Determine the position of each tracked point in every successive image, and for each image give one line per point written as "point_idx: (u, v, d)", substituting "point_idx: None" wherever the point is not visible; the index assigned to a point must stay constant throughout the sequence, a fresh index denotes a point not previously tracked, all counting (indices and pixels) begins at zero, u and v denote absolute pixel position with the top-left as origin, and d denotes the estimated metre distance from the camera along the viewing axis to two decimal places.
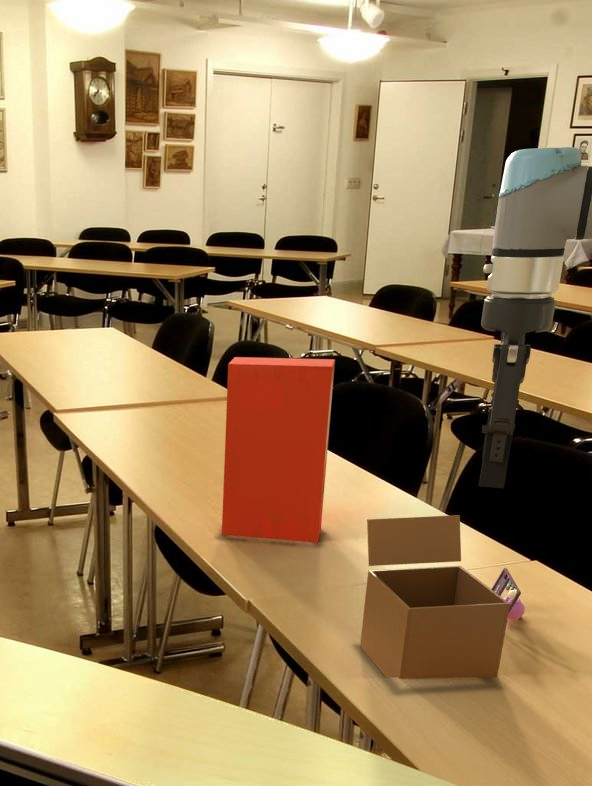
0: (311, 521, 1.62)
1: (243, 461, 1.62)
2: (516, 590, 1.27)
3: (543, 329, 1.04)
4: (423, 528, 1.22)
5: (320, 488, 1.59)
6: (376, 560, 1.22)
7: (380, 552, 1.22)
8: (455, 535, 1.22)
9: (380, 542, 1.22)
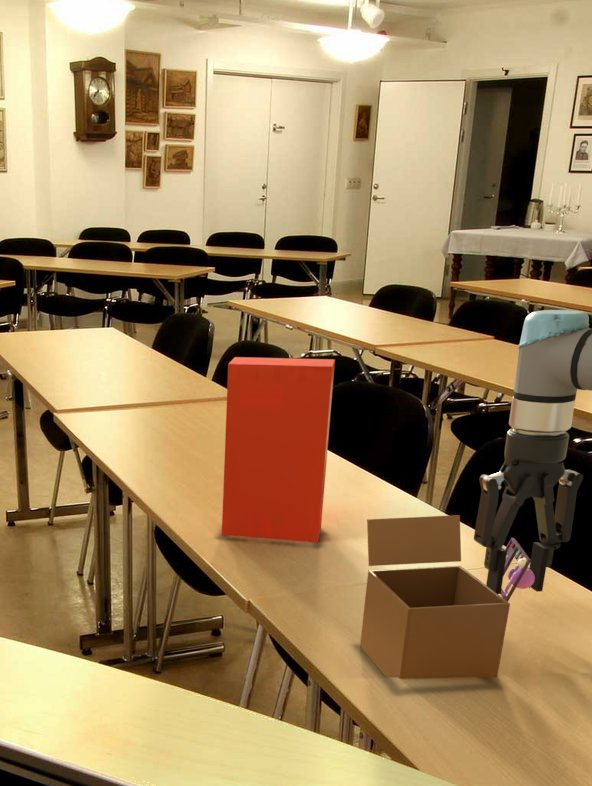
0: (311, 521, 1.62)
1: (243, 461, 1.62)
2: (525, 558, 1.25)
3: (530, 461, 1.21)
4: (423, 528, 1.22)
5: (320, 488, 1.59)
6: (376, 560, 1.22)
7: (380, 552, 1.22)
8: (455, 535, 1.22)
9: (380, 542, 1.22)
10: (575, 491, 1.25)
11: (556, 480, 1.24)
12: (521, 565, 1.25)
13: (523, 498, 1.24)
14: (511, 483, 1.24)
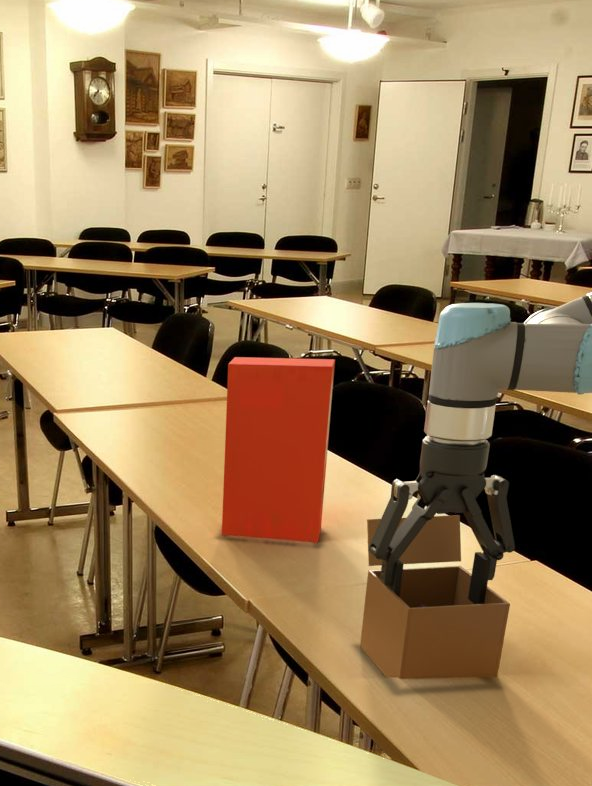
0: (311, 521, 1.62)
1: (243, 461, 1.62)
2: None
3: (445, 473, 1.08)
4: (423, 528, 1.22)
5: (320, 488, 1.59)
6: (376, 560, 1.22)
7: None
8: (455, 535, 1.22)
9: None
10: (504, 499, 1.11)
11: (476, 494, 1.11)
12: None
13: (434, 512, 1.11)
14: (426, 497, 1.11)
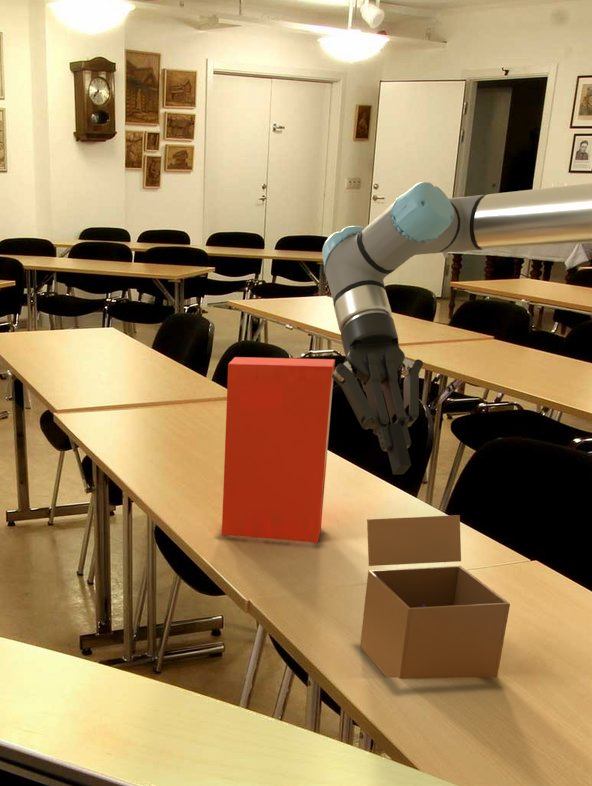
0: (311, 521, 1.62)
1: (243, 461, 1.62)
2: None
3: (363, 335, 1.29)
4: (423, 528, 1.22)
5: (320, 488, 1.59)
6: (376, 560, 1.22)
7: (380, 552, 1.22)
8: (455, 535, 1.22)
9: (380, 542, 1.22)
10: (417, 373, 1.29)
11: (399, 360, 1.29)
12: None
13: (377, 372, 1.28)
14: (356, 364, 1.29)
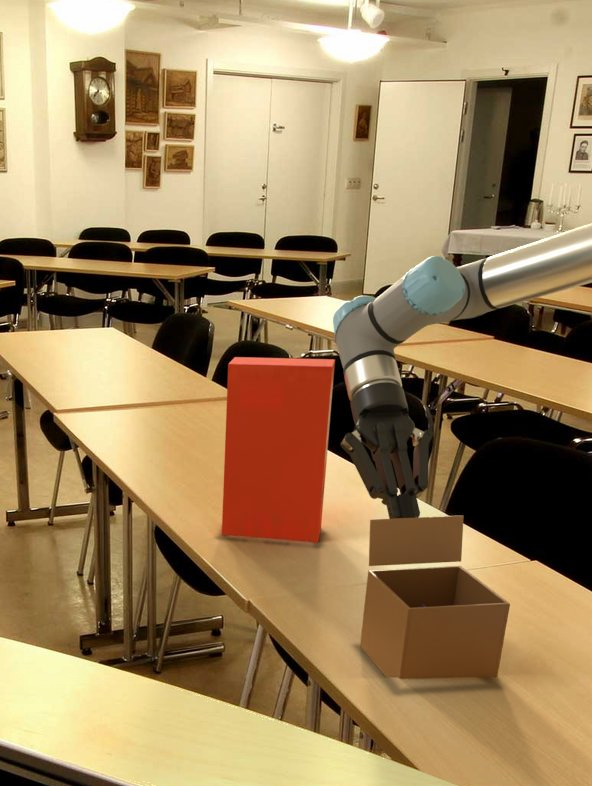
0: (311, 521, 1.62)
1: (243, 461, 1.62)
2: None
3: (372, 404, 1.28)
4: (426, 529, 1.21)
5: (320, 488, 1.59)
6: (376, 560, 1.22)
7: (381, 552, 1.22)
8: (457, 535, 1.22)
9: (382, 542, 1.21)
10: (427, 444, 1.28)
11: (409, 430, 1.29)
12: None
13: (386, 442, 1.27)
14: (365, 433, 1.29)
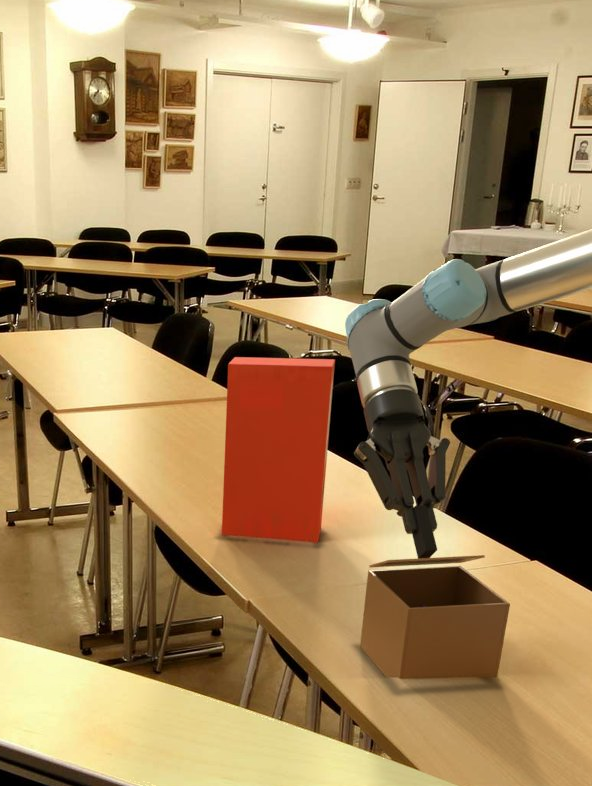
0: (311, 521, 1.62)
1: (243, 461, 1.62)
2: None
3: (387, 412, 1.23)
4: (440, 560, 1.18)
5: (320, 488, 1.59)
6: (378, 566, 1.21)
7: (386, 565, 1.20)
8: (469, 560, 1.19)
9: (390, 564, 1.19)
10: (444, 453, 1.23)
11: (425, 439, 1.24)
12: None
13: (401, 451, 1.22)
14: (380, 442, 1.24)
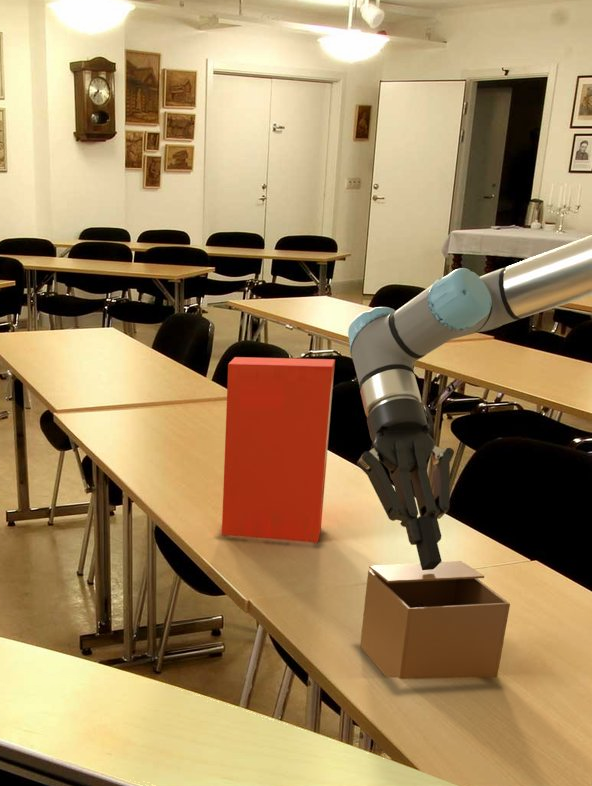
0: (311, 521, 1.62)
1: (243, 461, 1.62)
2: None
3: (391, 422, 1.22)
4: None
5: (320, 488, 1.59)
6: None
7: None
8: None
9: None
10: (448, 463, 1.22)
11: (429, 449, 1.23)
12: None
13: (405, 461, 1.21)
14: (384, 452, 1.23)
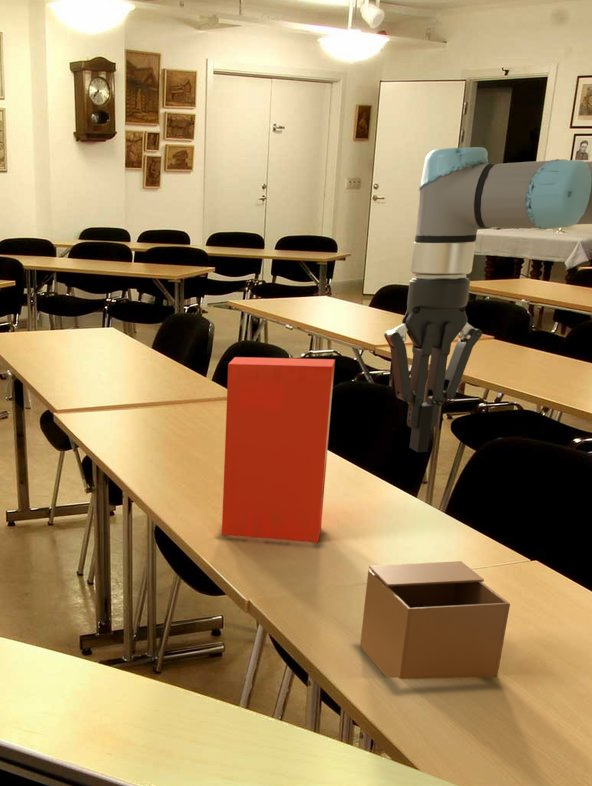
0: (311, 521, 1.62)
1: (243, 461, 1.62)
2: None
3: (429, 306, 1.19)
4: None
5: (320, 488, 1.59)
6: None
7: None
8: None
9: None
10: (471, 347, 1.23)
11: (458, 329, 1.22)
12: None
13: (430, 347, 1.22)
14: (413, 332, 1.22)
